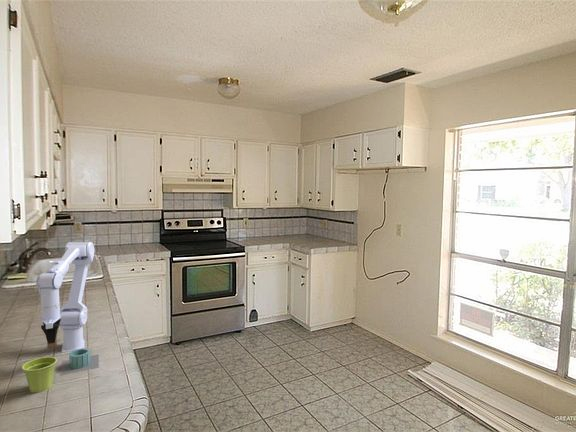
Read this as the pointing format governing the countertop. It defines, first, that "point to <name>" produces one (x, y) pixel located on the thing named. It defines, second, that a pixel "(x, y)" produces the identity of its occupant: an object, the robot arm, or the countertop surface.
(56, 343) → the walnut peg
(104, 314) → the countertop surface
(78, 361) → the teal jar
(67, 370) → the grey mat
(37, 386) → the plant pot
